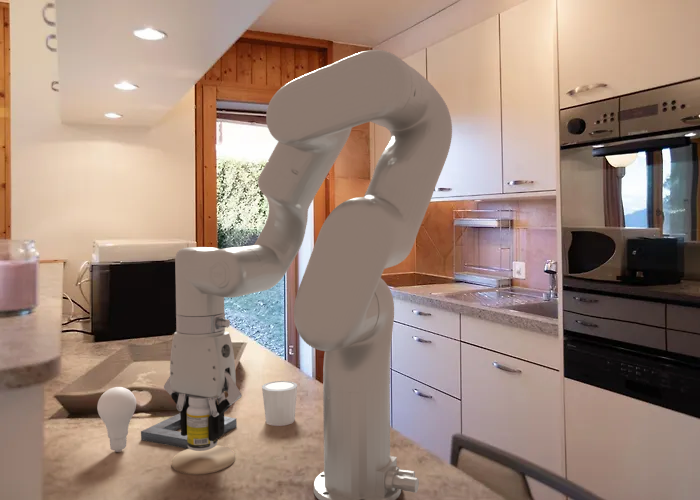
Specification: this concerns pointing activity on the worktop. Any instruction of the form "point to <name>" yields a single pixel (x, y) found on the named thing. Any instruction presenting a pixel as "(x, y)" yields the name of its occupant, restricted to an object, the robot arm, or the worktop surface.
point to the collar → (175, 432)
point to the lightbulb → (117, 414)
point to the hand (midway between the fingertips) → (202, 434)
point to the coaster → (203, 460)
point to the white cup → (279, 402)
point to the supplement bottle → (198, 424)
